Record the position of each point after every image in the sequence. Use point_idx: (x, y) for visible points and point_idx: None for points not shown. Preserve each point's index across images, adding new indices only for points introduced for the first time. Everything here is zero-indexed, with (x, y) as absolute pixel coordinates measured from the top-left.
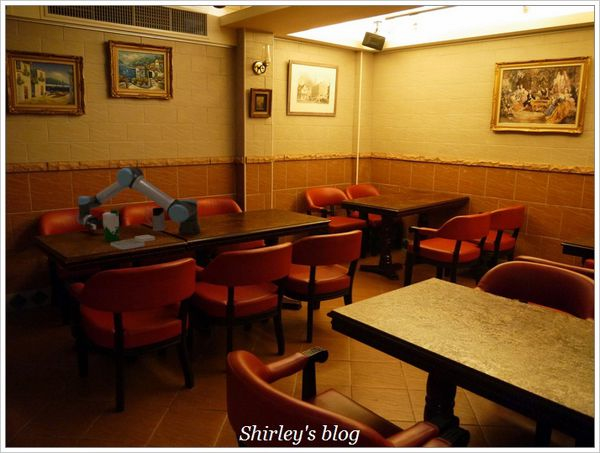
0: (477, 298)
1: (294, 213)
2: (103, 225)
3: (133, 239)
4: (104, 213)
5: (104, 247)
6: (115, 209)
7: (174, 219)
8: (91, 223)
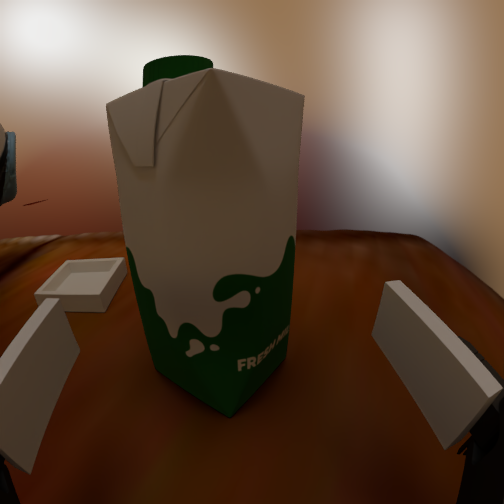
0: None
1: None
2: (295, 233)
3: None
4: (271, 86)
5: (316, 274)
6: (148, 64)
7: (16, 187)
8: (499, 489)
